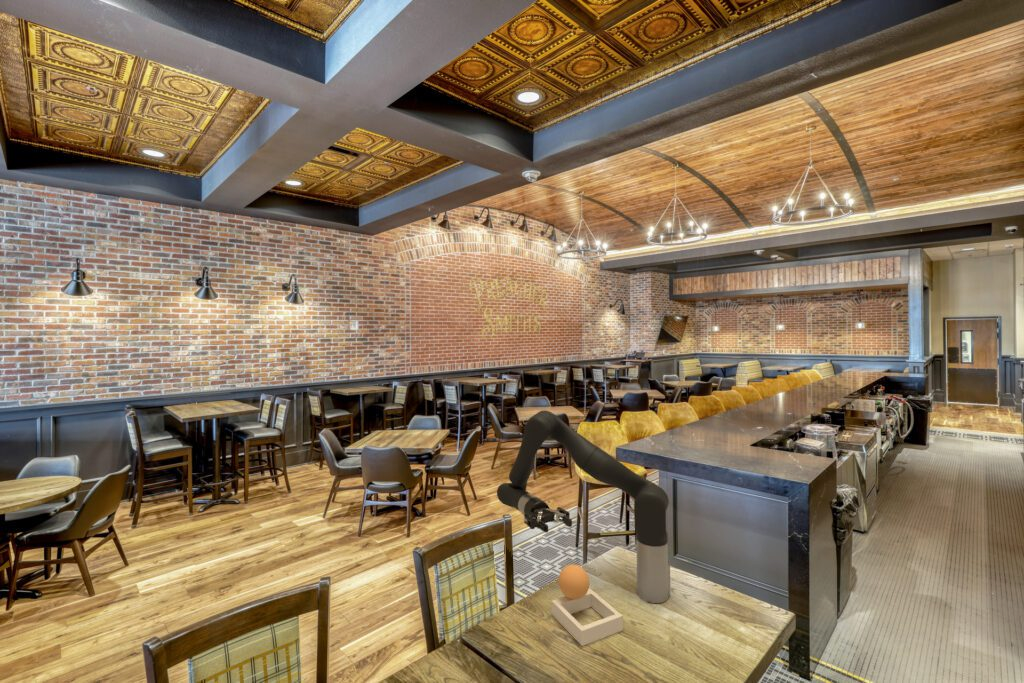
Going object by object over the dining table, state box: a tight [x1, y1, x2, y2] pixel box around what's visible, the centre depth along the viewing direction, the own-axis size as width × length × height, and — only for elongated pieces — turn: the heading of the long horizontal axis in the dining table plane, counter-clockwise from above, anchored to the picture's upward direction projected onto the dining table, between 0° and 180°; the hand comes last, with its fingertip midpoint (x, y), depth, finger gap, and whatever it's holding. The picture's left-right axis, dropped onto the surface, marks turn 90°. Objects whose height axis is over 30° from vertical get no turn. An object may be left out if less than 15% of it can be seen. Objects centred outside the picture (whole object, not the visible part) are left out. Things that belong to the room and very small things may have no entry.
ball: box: [557, 564, 590, 599], centre depth 132 cm, size 9×9×9 cm
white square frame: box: [551, 587, 624, 647], centre depth 127 cm, size 14×15×4 cm
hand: (559, 526), depth 138 cm, fingers open, 8 cm apart
